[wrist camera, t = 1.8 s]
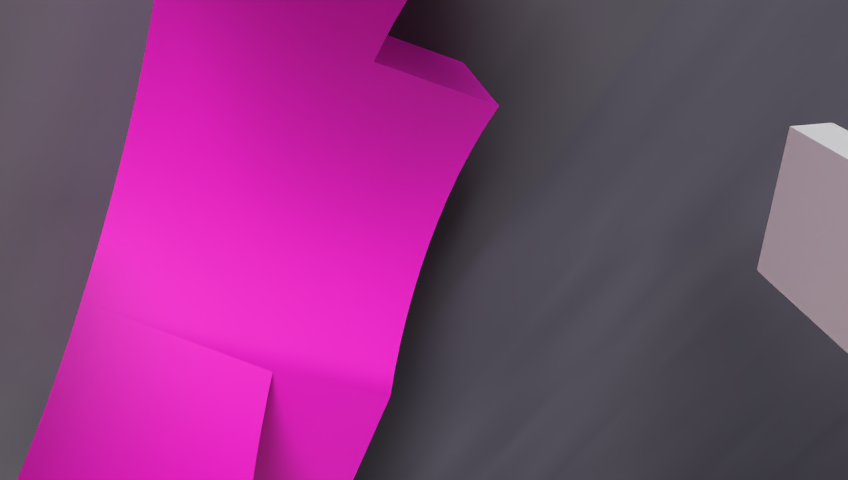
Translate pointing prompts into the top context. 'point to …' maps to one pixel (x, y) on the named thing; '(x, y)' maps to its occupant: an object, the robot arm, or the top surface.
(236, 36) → the toy block
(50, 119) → the top surface
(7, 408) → the top surface
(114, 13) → the top surface
